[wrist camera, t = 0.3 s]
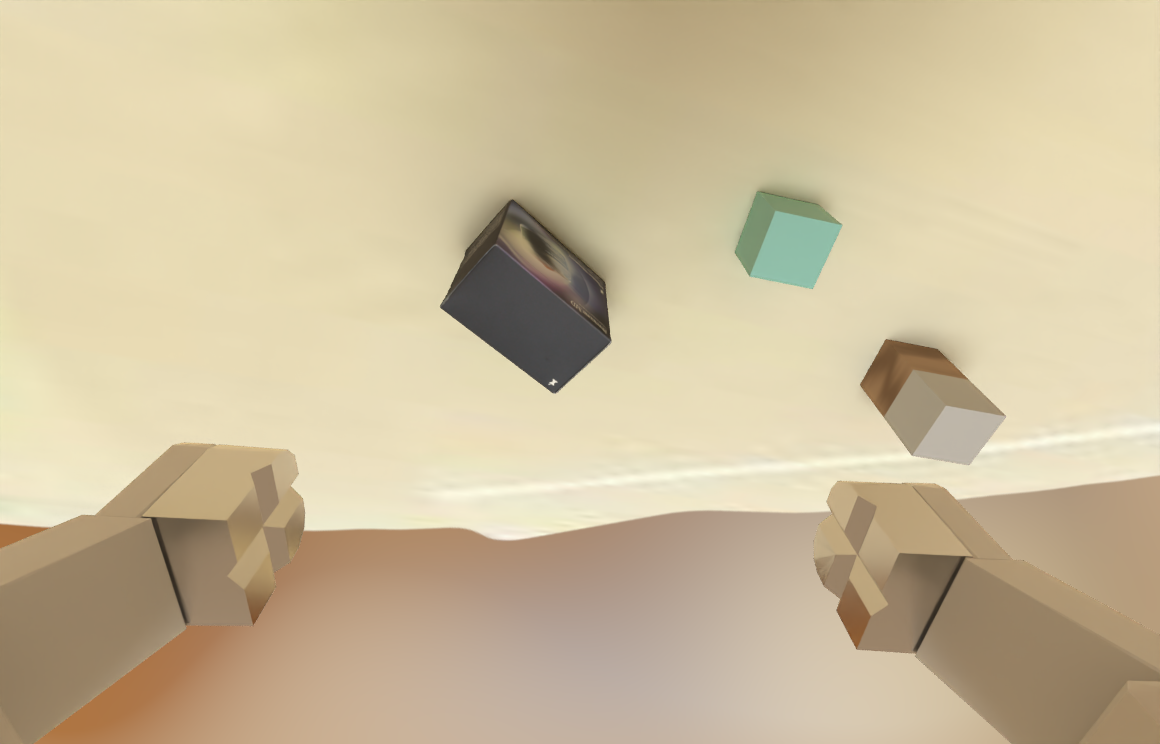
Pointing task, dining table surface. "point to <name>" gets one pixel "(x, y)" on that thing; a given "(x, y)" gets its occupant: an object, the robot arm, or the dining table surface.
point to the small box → (530, 299)
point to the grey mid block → (943, 417)
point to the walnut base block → (901, 370)
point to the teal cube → (786, 240)
